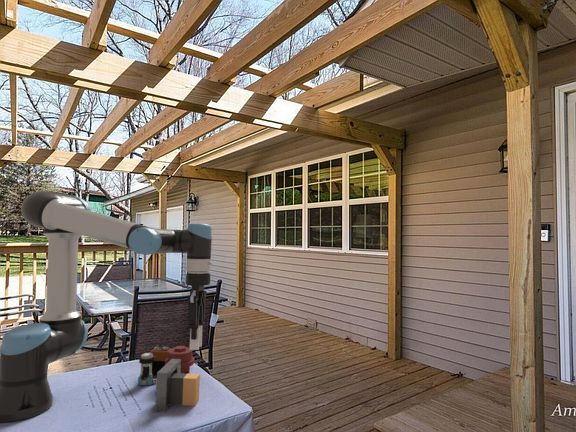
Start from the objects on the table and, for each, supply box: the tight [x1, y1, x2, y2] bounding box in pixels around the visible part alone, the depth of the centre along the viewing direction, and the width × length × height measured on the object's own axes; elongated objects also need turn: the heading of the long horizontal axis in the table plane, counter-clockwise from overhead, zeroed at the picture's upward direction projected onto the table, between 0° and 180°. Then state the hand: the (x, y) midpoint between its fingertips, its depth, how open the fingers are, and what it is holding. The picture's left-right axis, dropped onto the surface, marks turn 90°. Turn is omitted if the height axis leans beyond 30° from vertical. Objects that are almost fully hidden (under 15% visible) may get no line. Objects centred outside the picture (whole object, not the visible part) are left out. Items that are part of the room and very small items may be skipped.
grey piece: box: [154, 359, 181, 413], centre depth 115 cm, size 3×13×11 cm, turn 179°
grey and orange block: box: [170, 373, 201, 407], centre depth 115 cm, size 12×4×8 cm, turn 89°
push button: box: [137, 352, 157, 386], centre depth 128 cm, size 7×5×10 cm
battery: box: [149, 346, 171, 377], centre depth 137 cm, size 4×7×10 cm, turn 88°
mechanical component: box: [165, 345, 195, 374], centre depth 130 cm, size 12×10×10 cm
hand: (195, 347), depth 115 cm, fingers open, 3 cm apart
